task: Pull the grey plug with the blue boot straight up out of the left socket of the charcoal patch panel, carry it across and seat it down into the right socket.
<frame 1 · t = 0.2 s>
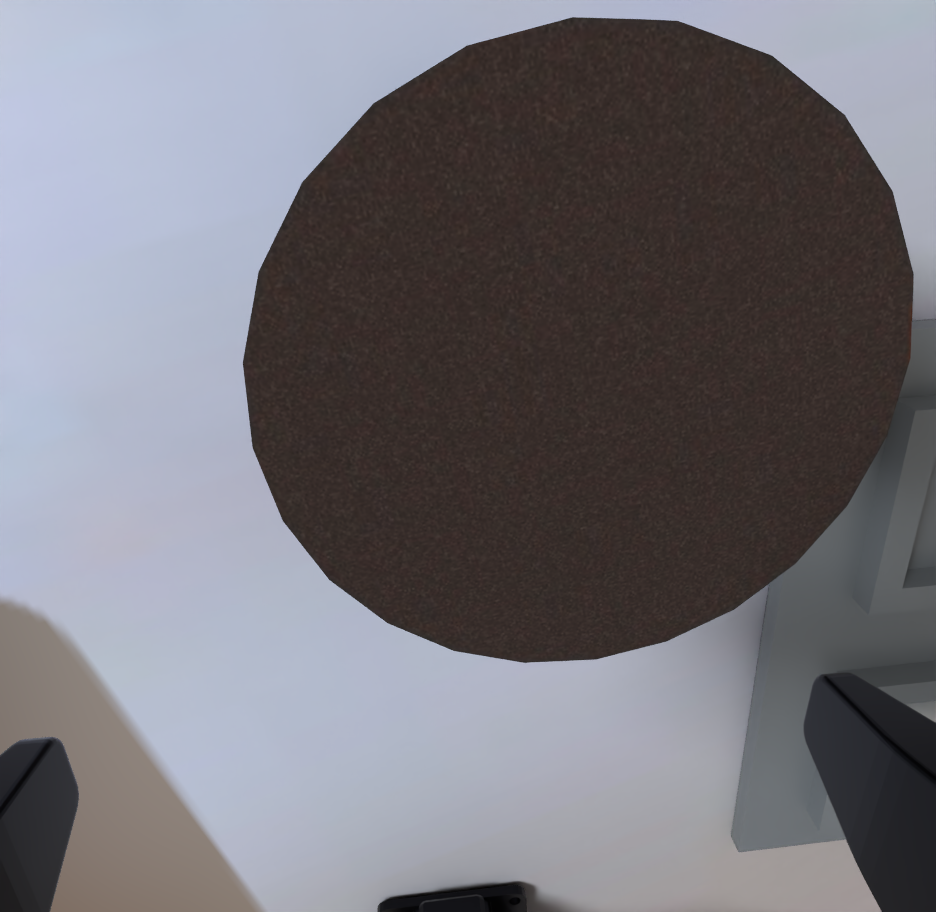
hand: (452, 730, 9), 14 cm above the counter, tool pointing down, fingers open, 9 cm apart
plug: (912, 734, 30), point 1 cm above the counter, touching panel
panel: (929, 611, 28), on the counter
deodorant: (456, 196, 20), on the counter
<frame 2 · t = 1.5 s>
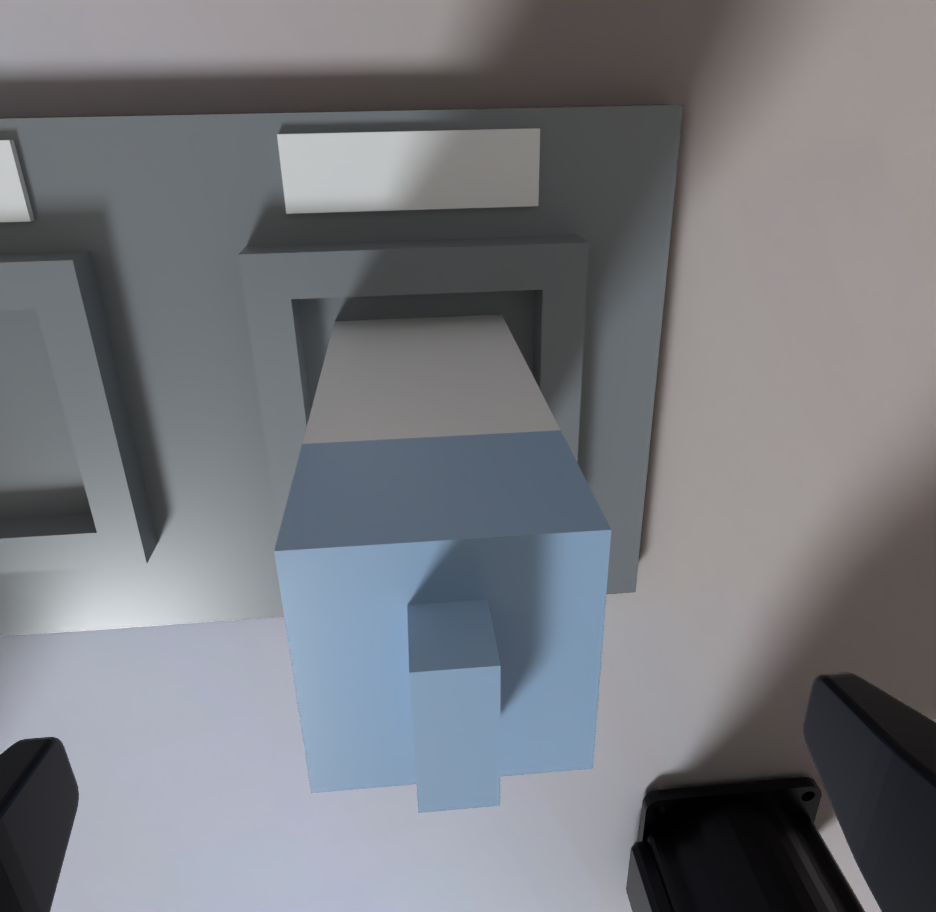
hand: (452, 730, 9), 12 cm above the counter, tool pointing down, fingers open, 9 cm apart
plug: (422, 396, 19), point 1 cm above the counter, touching panel
panel: (205, 395, 19), on the counter
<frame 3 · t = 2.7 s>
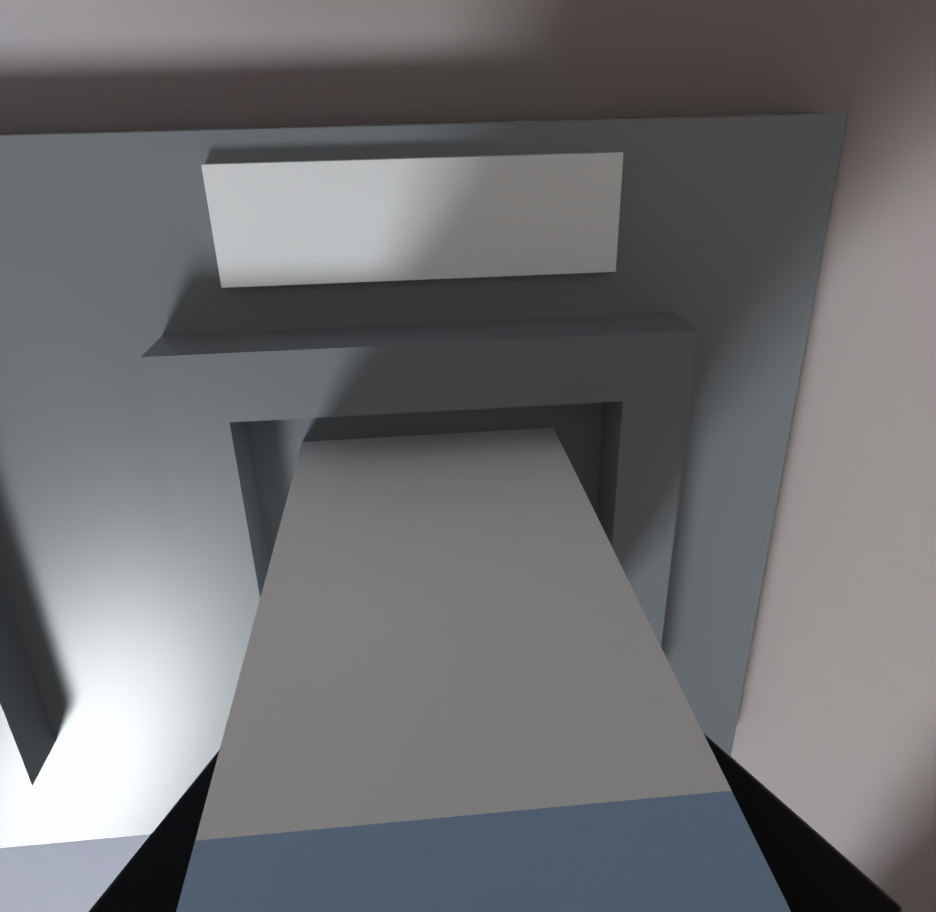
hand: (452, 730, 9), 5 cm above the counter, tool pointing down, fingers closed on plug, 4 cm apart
plug: (434, 541, 13), point 1 cm above the counter, touching gripper, panel
panel: (118, 538, 13), on the counter
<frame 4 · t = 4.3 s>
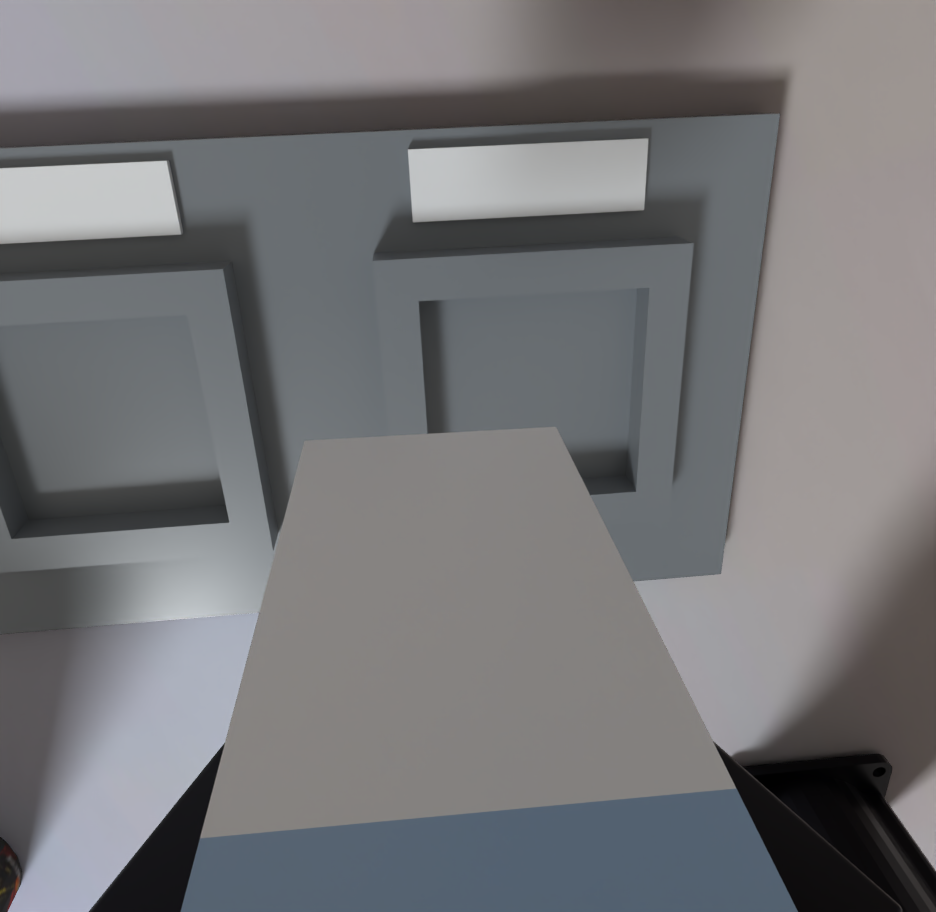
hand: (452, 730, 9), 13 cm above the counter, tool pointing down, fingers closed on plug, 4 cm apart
plug: (436, 540, 13), point 8 cm above the counter, touching gripper
panel: (325, 393, 20), on the counter
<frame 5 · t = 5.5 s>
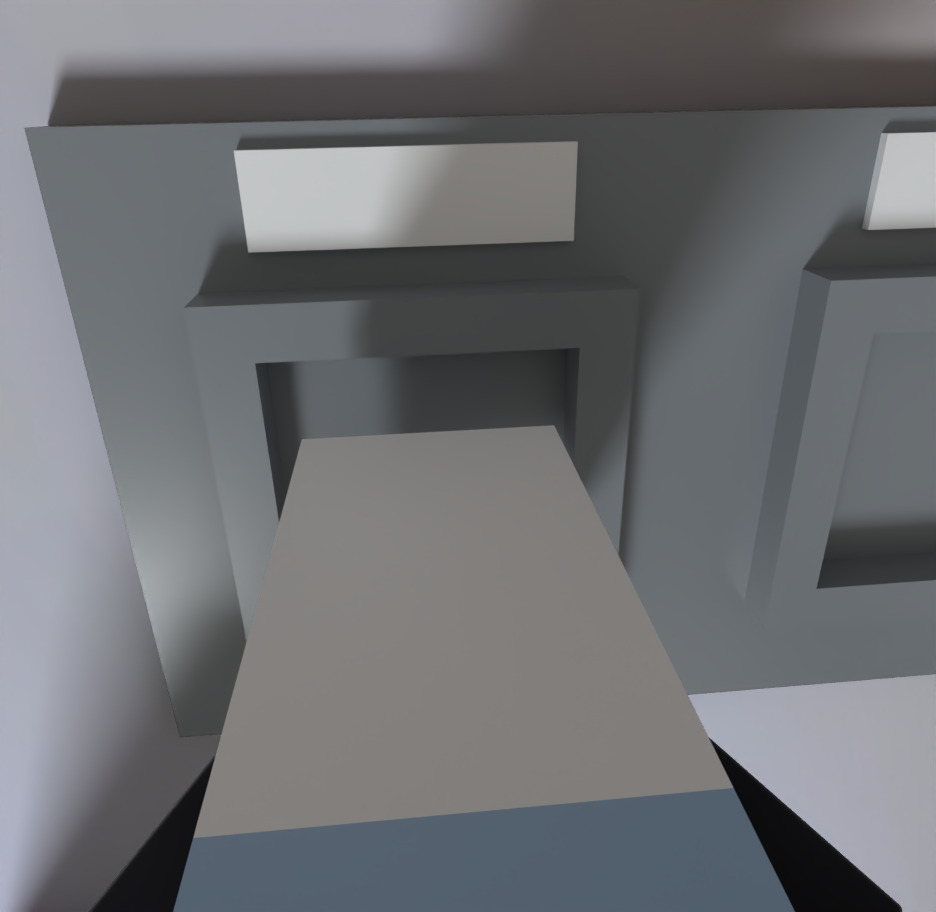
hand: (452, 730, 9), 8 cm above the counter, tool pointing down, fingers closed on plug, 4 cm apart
plug: (434, 539, 13), point 3 cm above the counter, touching gripper
panel: (677, 441, 16), on the counter
when the fingers open (5 cm above the counter, at t = 6.2 s): plug stays where it is, resting on panel.
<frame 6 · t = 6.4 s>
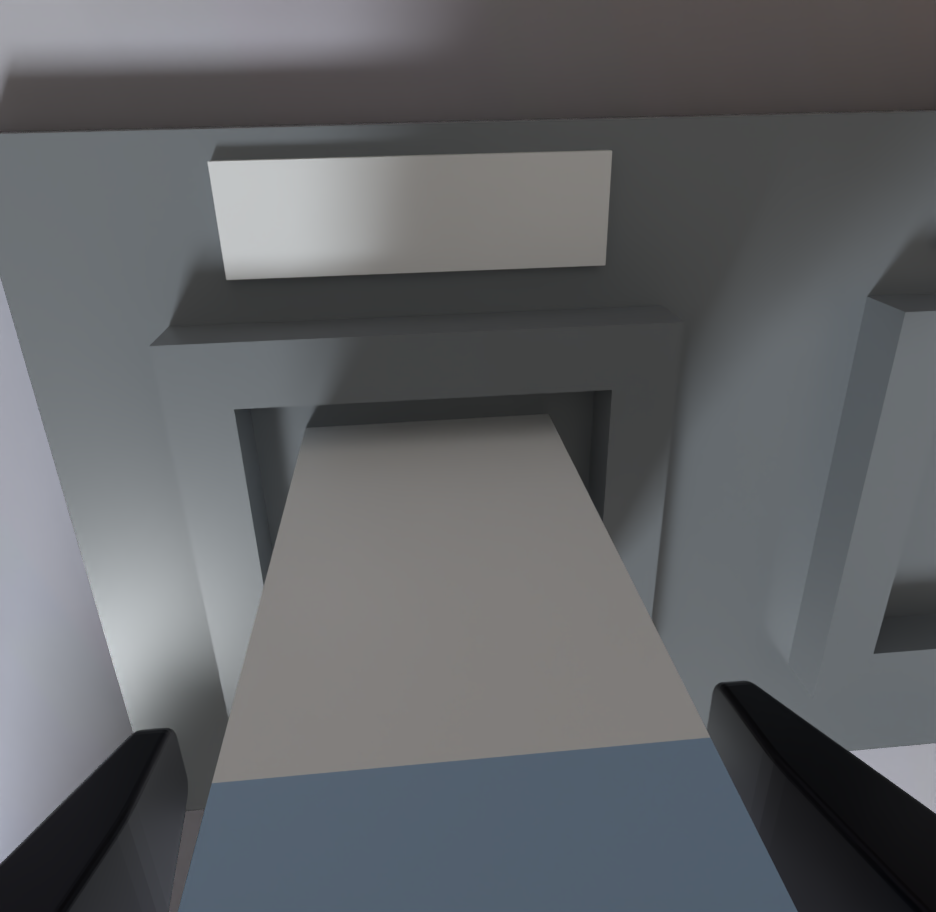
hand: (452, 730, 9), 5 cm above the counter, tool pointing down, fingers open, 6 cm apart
plug: (433, 525, 13), point 1 cm above the counter, touching panel
panel: (715, 487, 14), on the counter
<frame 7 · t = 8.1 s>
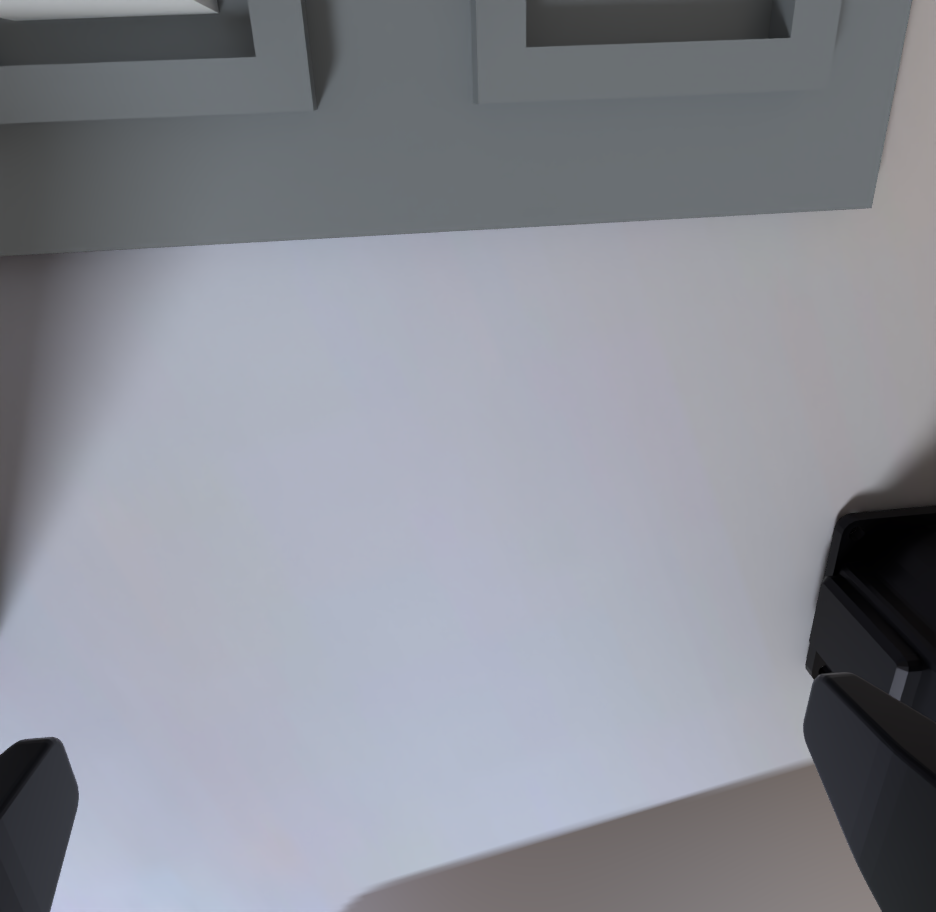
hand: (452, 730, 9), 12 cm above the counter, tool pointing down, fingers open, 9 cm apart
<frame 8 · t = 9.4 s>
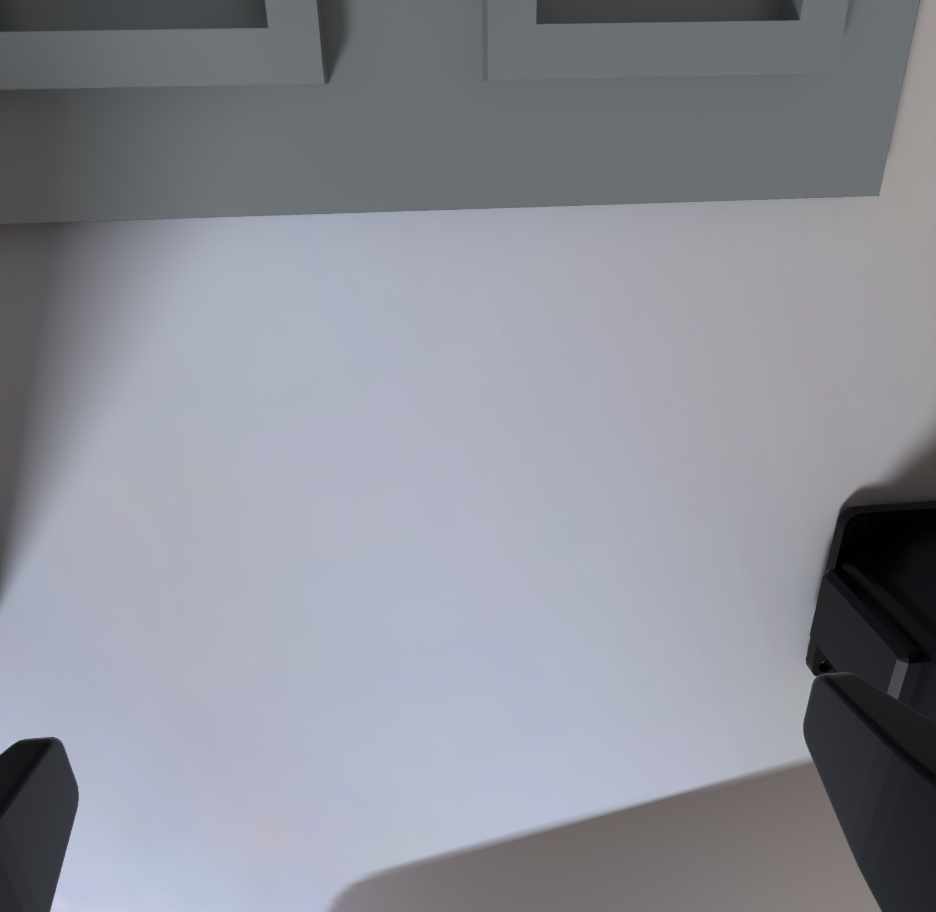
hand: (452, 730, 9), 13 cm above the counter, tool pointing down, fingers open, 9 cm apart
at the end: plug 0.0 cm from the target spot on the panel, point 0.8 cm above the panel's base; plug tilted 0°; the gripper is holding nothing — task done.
